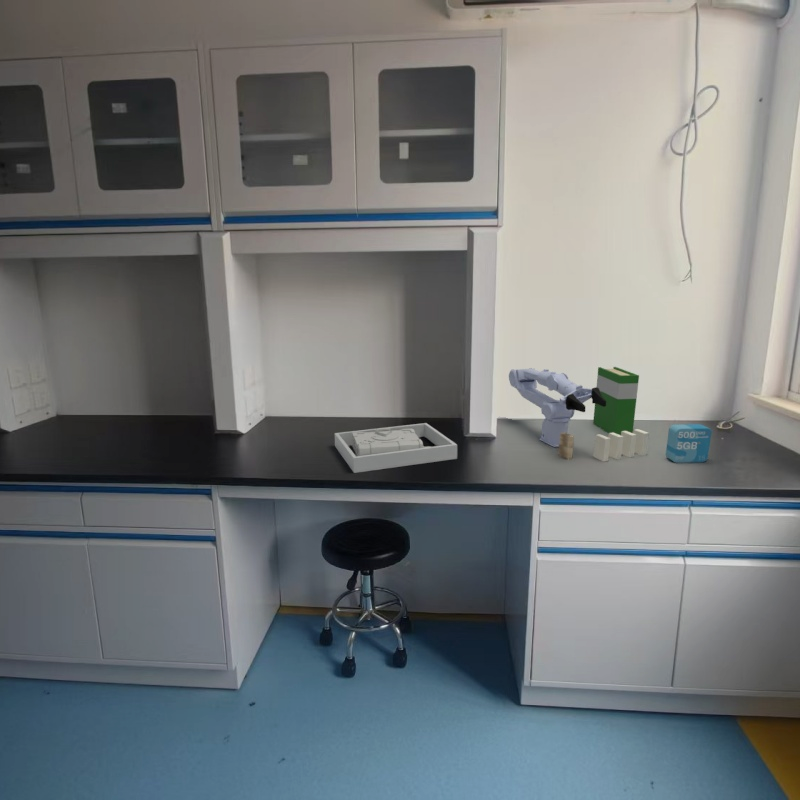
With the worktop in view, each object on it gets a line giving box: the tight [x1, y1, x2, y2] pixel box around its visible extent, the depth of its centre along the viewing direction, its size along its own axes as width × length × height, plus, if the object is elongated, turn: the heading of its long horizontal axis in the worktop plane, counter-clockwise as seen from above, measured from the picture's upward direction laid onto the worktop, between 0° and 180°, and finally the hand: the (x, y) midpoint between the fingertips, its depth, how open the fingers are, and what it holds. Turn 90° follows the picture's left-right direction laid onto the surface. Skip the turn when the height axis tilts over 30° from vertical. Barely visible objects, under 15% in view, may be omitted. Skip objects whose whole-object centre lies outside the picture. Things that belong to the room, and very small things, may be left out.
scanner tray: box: [334, 422, 458, 474], centre depth 181 cm, size 27×36×5 cm
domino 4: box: [621, 431, 636, 458], centre depth 177 cm, size 5×2×8 cm, turn 20°
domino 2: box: [593, 433, 610, 462], centre depth 173 cm, size 5×2×8 cm, turn 20°
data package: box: [665, 423, 712, 463], centre depth 171 cm, size 12×4×12 cm, turn 92°
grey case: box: [352, 427, 432, 456], centre depth 181 cm, size 19×28×8 cm
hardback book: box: [592, 366, 640, 435], centre depth 203 cm, size 18×7×24 cm, turn 5°
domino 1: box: [558, 432, 575, 460], centre depth 175 cm, size 5×2×8 cm, turn 20°
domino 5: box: [633, 428, 650, 456], centre depth 179 cm, size 5×2×8 cm, turn 20°
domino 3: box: [607, 433, 623, 461], centre depth 175 cm, size 5×2×8 cm, turn 20°
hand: (594, 406), depth 167 cm, fingers open, 7 cm apart
